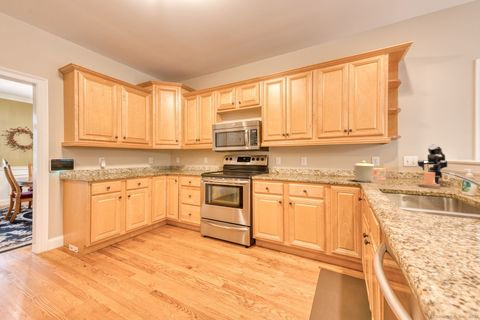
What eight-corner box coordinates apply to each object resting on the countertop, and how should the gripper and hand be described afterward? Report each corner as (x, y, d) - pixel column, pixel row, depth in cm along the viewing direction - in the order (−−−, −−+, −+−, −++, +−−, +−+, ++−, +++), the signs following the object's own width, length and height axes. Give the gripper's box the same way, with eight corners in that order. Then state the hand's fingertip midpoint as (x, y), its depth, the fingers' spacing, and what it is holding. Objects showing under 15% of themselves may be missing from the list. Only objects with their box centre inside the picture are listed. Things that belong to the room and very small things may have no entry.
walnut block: (421, 186, 180) (421, 182, 180) (440, 188, 171) (440, 184, 171) (418, 187, 173) (418, 184, 173) (437, 189, 163) (437, 185, 163)
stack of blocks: (364, 179, 223) (364, 168, 223) (362, 179, 229) (362, 168, 229) (386, 180, 219) (386, 168, 218) (383, 179, 225) (383, 168, 225)
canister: (378, 182, 199) (378, 160, 198) (359, 182, 199) (359, 160, 198) (367, 180, 217) (367, 160, 216) (349, 180, 217) (350, 160, 216)
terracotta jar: (424, 183, 177) (425, 171, 176) (436, 184, 171) (436, 172, 170) (422, 184, 172) (422, 172, 172) (433, 185, 167) (434, 172, 166)
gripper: (418, 151, 187) (415, 163, 181) (447, 151, 173) (444, 164, 166) (420, 159, 192) (417, 172, 186) (448, 160, 178) (446, 173, 171)
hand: (430, 170), depth 177 cm, fingers open, 9 cm apart
